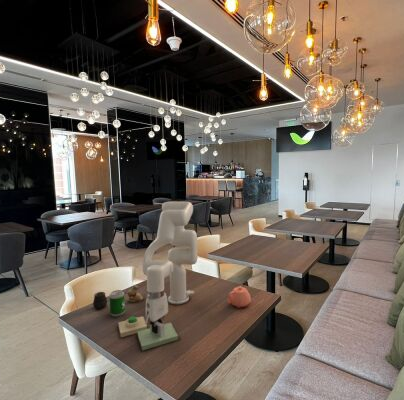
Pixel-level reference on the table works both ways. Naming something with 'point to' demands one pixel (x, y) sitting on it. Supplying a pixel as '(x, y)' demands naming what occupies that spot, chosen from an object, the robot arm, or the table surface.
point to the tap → (160, 329)
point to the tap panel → (156, 337)
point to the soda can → (117, 303)
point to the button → (132, 319)
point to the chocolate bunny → (134, 294)
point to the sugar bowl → (239, 297)
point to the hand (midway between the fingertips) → (157, 330)
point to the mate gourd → (100, 300)
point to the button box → (132, 326)
